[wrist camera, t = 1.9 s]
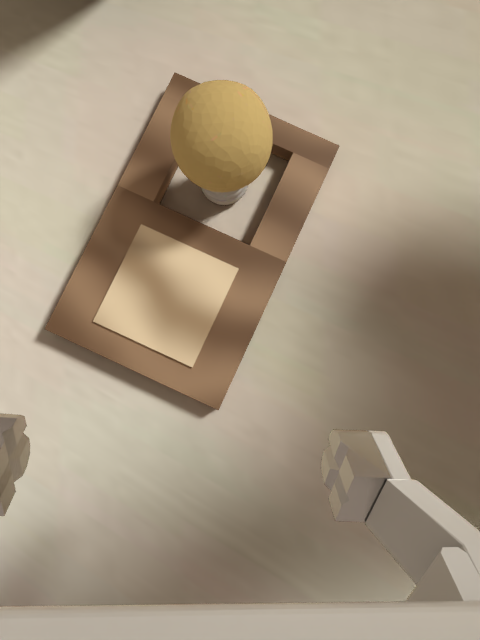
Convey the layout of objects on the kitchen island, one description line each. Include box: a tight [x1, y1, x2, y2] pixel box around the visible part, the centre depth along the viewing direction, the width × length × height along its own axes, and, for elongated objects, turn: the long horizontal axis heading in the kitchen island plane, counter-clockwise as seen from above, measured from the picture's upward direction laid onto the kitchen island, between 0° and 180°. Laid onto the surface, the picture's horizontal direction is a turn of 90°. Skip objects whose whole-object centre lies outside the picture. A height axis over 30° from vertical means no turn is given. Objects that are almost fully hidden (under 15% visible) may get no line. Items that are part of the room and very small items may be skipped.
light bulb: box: [170, 80, 273, 205], centre depth 27 cm, size 6×6×10 cm
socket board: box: [45, 73, 339, 410], centre depth 31 cm, size 22×14×2 cm, turn 155°
